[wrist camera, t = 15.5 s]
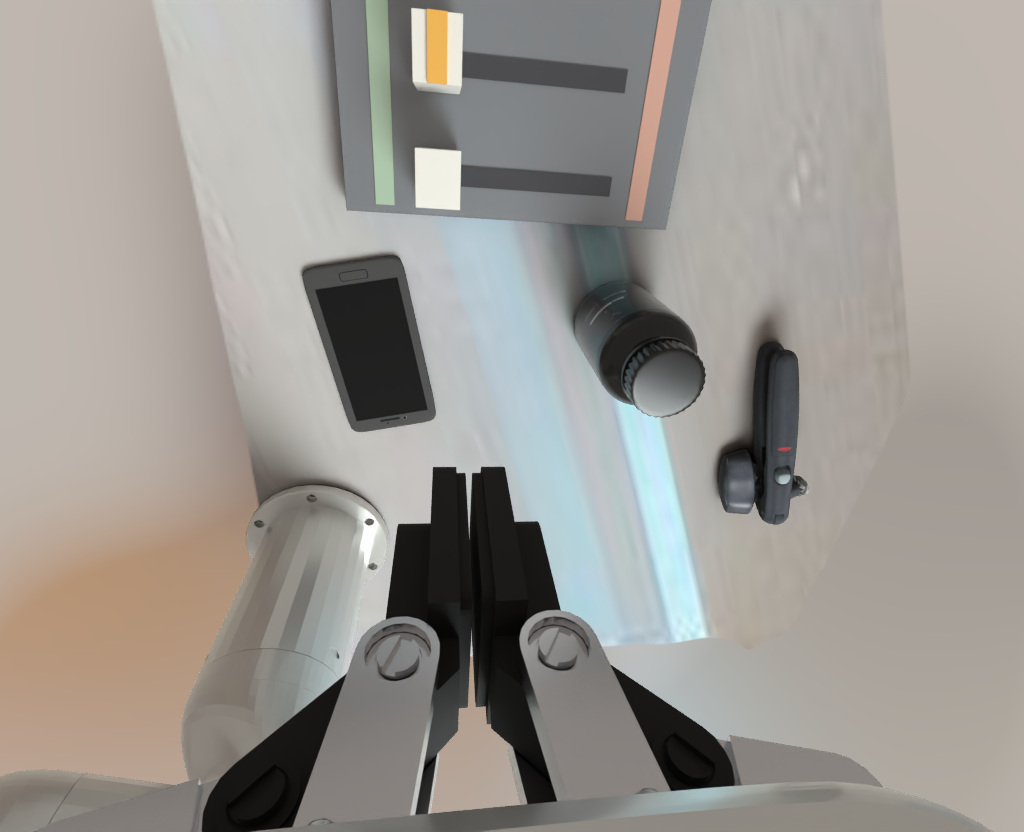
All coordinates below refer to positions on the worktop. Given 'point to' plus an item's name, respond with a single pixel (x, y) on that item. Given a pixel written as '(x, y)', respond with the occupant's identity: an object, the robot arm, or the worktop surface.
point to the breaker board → (524, 107)
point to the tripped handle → (437, 50)
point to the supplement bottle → (639, 349)
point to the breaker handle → (437, 178)
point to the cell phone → (371, 341)
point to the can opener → (768, 443)
